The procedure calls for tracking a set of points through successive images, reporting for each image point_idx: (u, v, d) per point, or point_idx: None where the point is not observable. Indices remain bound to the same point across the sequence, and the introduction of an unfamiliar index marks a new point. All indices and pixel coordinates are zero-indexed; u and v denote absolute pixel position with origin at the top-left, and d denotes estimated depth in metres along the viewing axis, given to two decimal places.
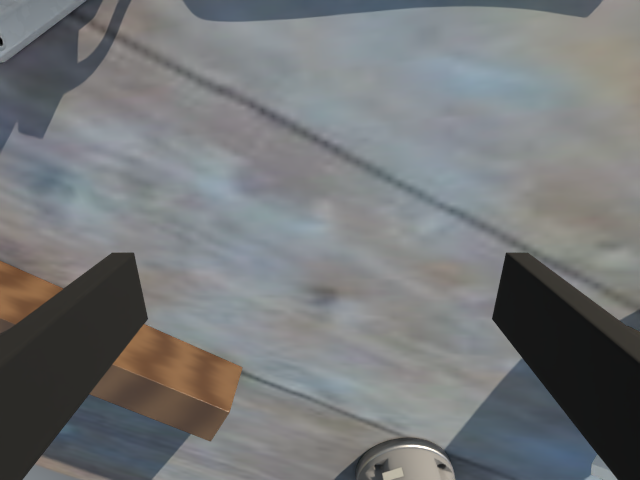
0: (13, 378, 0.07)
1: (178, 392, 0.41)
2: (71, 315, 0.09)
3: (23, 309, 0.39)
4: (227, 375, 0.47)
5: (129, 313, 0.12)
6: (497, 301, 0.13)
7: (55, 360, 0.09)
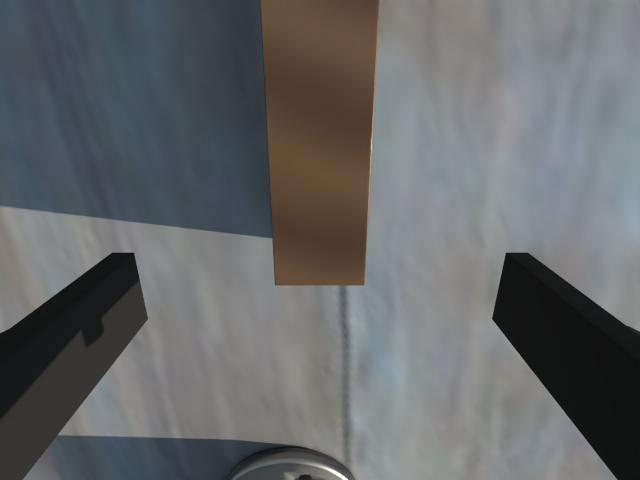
0: (13, 378, 0.07)
1: (368, 184, 0.20)
2: (71, 315, 0.09)
3: None
4: None
5: (129, 313, 0.12)
6: (498, 301, 0.13)
7: (55, 360, 0.09)
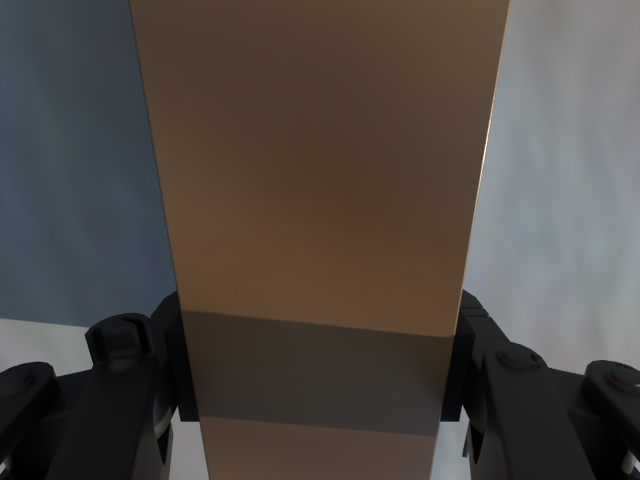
0: None
1: (451, 333, 0.07)
2: None
3: None
4: None
5: None
6: None
7: None
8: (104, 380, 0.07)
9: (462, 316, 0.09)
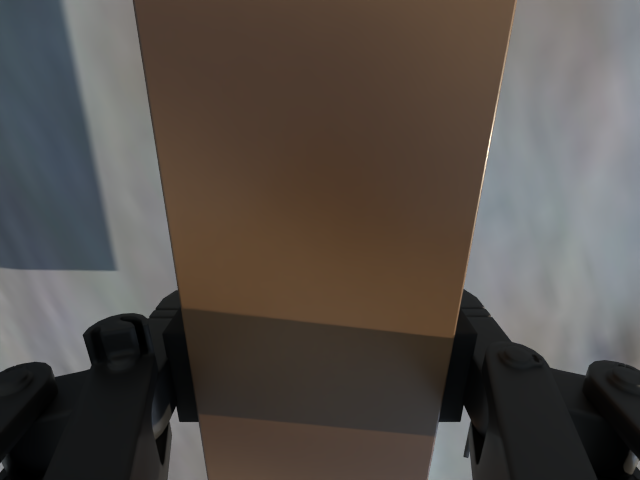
0: None
1: (450, 335, 0.07)
2: None
3: None
4: None
5: None
6: None
7: None
8: (102, 380, 0.07)
9: (464, 317, 0.09)
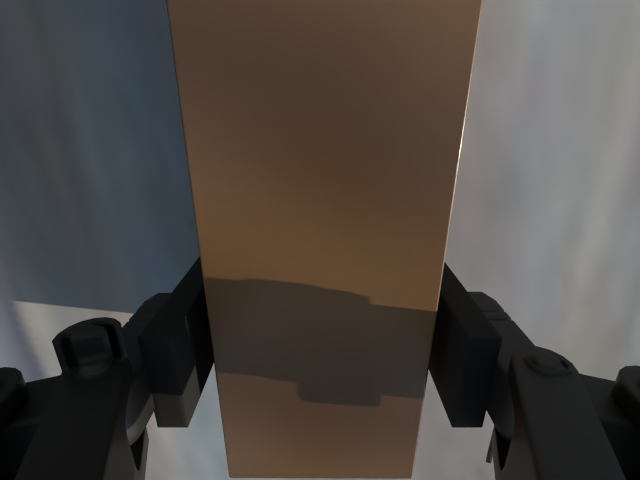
0: (190, 327, 0.09)
1: (435, 297, 0.08)
2: None
3: None
4: None
5: None
6: None
7: (205, 318, 0.10)
8: (73, 386, 0.07)
9: (486, 320, 0.09)
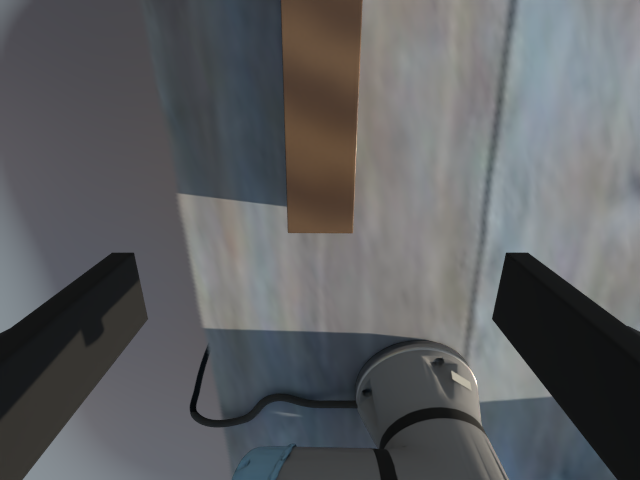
0: (13, 378, 0.07)
1: (354, 158, 0.28)
2: (71, 315, 0.09)
3: None
4: None
5: (129, 313, 0.12)
6: (498, 301, 0.13)
7: (55, 360, 0.09)
8: None
9: None
